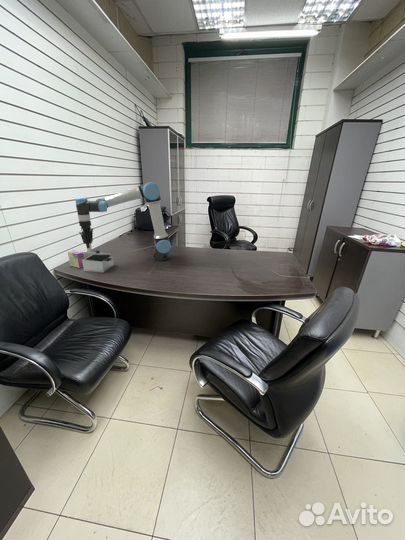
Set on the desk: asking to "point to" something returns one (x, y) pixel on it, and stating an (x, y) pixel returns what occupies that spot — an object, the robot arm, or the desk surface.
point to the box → (76, 258)
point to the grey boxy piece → (98, 263)
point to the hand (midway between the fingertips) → (89, 251)
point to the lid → (96, 253)
